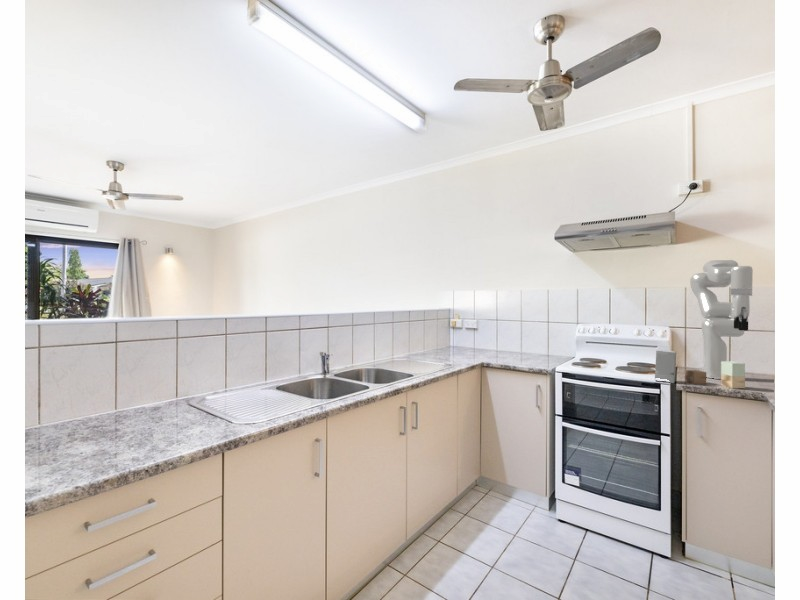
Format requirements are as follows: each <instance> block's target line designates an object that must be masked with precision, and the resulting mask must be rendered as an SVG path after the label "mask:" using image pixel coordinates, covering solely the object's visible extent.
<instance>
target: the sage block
mask: <svg viewBox="0 0 800 600" xmlns="http://www.w3.org/2000/svg"><path fill="white" fill-rule="evenodd" d="M721 374H725V375H729V376H745V377H746V363H744V362H739V361H735V360H734V361H728V360H727V361H721Z"/></svg>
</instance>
